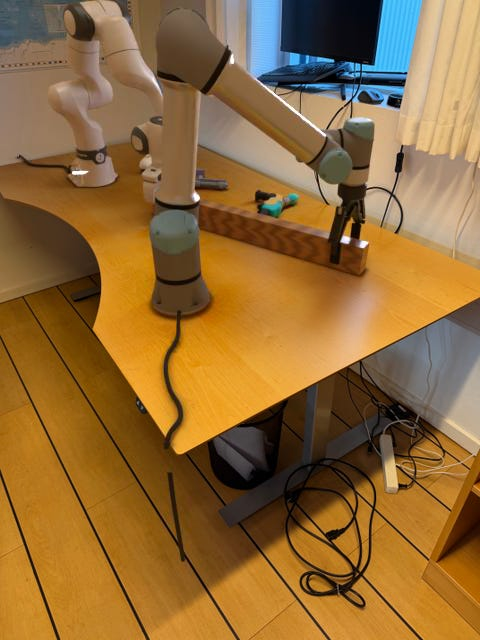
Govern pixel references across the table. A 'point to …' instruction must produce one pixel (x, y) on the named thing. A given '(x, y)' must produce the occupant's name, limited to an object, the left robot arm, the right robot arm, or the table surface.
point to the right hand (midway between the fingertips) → (344, 253)
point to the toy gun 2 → (273, 202)
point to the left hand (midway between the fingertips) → (169, 207)
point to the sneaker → (145, 162)
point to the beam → (281, 236)
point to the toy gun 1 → (208, 181)
